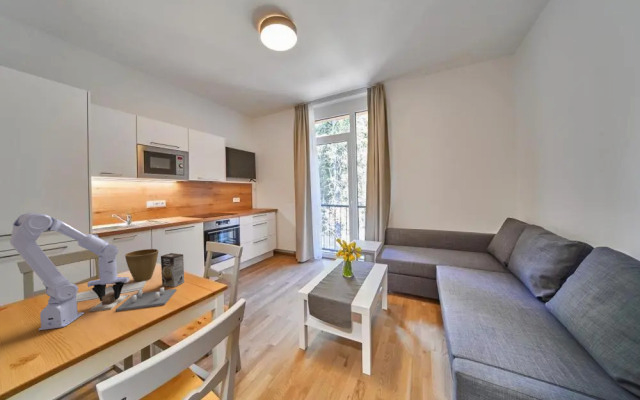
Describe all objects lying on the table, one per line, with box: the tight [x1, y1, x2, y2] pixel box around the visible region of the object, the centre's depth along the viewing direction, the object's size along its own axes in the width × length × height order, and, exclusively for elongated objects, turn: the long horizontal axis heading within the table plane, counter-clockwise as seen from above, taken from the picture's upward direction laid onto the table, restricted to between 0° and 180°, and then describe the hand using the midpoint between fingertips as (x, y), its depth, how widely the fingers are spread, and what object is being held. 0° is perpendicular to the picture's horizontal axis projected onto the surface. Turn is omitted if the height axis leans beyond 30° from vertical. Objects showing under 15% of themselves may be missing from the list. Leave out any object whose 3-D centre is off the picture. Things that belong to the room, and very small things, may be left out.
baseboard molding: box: [76, 280, 148, 303], centre depth 109 cm, size 31×3×12 cm
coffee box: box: [160, 252, 185, 288], centre depth 118 cm, size 9×6×16 cm
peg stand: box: [115, 286, 177, 312], centre depth 101 cm, size 14×18×4 cm
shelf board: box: [88, 292, 130, 312], centre depth 99 cm, size 12×8×5 cm, turn 12°
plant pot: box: [124, 248, 159, 283], centre depth 125 cm, size 15×15×16 cm
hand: (110, 299), depth 99 cm, fingers open, 5 cm apart
